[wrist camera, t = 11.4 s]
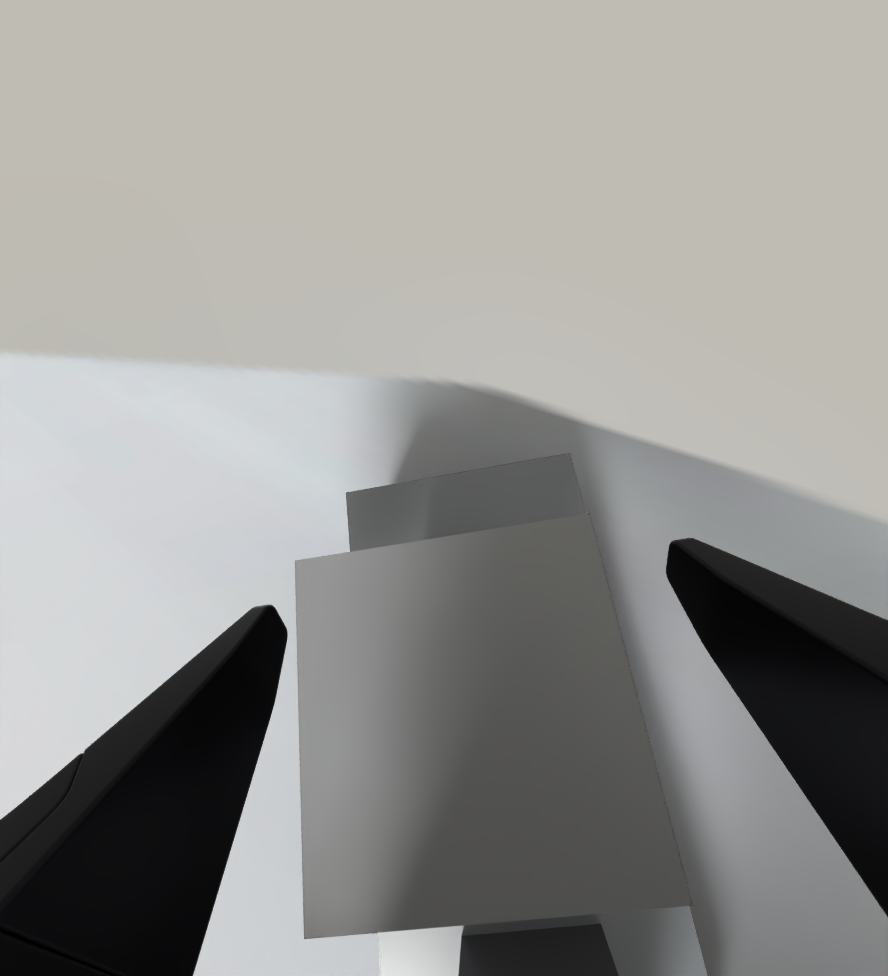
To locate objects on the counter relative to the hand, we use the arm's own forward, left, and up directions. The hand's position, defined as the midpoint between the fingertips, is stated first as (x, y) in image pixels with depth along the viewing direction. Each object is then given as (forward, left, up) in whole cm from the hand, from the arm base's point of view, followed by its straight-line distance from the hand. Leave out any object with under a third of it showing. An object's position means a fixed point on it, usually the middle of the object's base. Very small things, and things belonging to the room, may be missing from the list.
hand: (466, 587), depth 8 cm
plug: (-1, -1, -9) cm, 9 cm away
